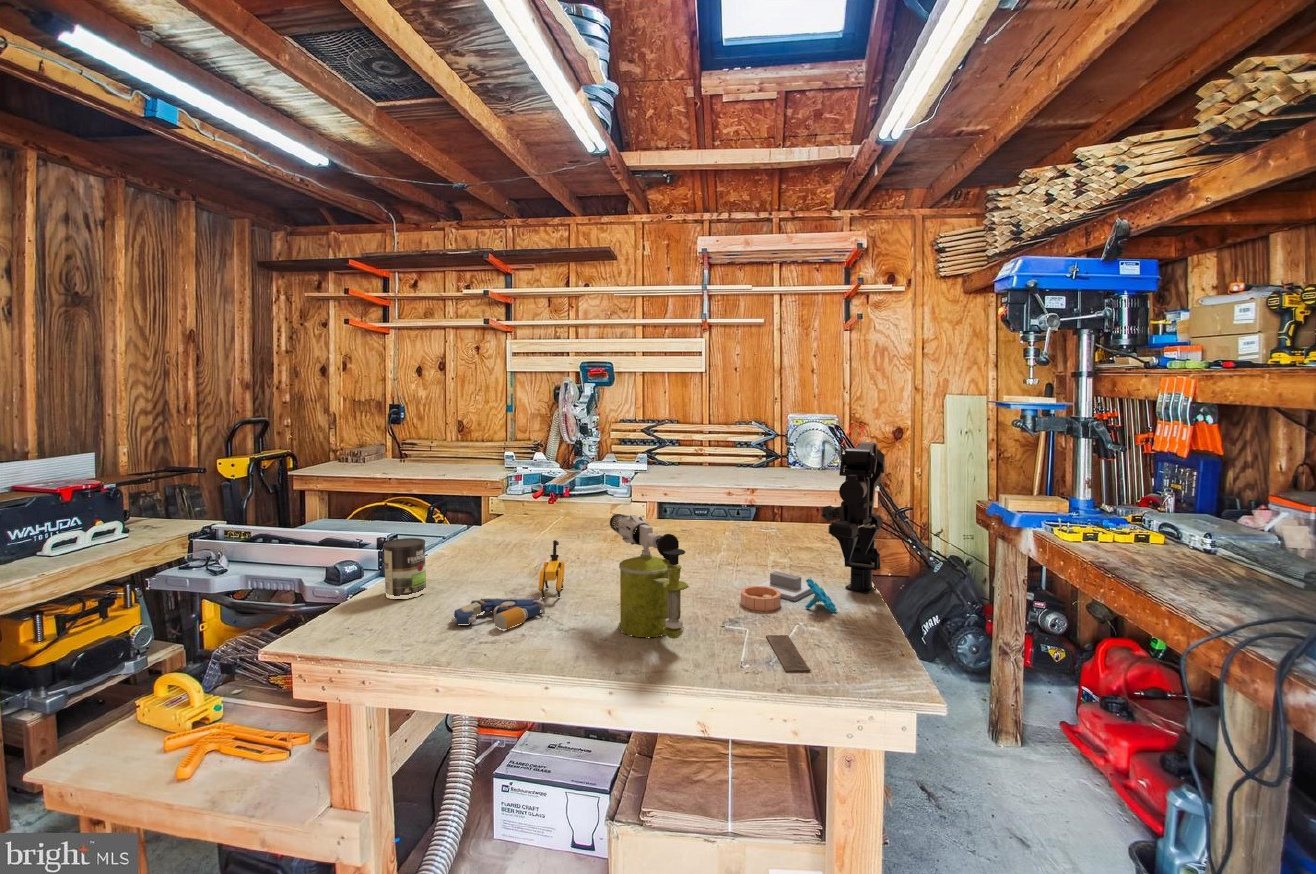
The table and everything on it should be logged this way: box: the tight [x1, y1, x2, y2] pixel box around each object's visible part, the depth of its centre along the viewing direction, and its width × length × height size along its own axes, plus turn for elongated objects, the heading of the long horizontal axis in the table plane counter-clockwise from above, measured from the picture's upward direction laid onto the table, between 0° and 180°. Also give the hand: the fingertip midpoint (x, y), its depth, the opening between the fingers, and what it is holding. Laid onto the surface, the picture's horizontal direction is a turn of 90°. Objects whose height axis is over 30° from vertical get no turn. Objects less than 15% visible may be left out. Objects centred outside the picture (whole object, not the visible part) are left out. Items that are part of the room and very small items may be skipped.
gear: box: [805, 578, 838, 613], centre depth 146 cm, size 11×6×10 cm
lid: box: [756, 570, 811, 599], centre depth 160 cm, size 12×12×4 cm
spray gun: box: [451, 596, 546, 629], centre depth 139 cm, size 21×4×15 cm
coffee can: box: [383, 537, 427, 596], centre depth 156 cm, size 10×10×14 cm
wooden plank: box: [765, 634, 812, 673], centre depth 121 cm, size 17×1×5 cm
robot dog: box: [538, 539, 566, 598], centre depth 158 cm, size 6×18×13 cm, turn 3°
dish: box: [740, 585, 782, 612], centre depth 149 cm, size 10×10×3 cm
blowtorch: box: [609, 513, 690, 640], centre depth 133 cm, size 13×33×25 cm, turn 28°
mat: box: [781, 586, 821, 603], centre depth 160 cm, size 14×14×1 cm
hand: (855, 557), depth 149 cm, fingers open, 9 cm apart
